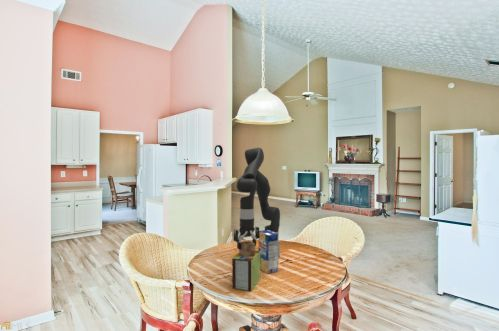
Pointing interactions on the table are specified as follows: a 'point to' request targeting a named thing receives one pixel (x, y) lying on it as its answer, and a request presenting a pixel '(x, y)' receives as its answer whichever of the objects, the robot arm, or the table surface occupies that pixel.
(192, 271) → the table surface
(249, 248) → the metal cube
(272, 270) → the beverage box
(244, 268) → the protein box
